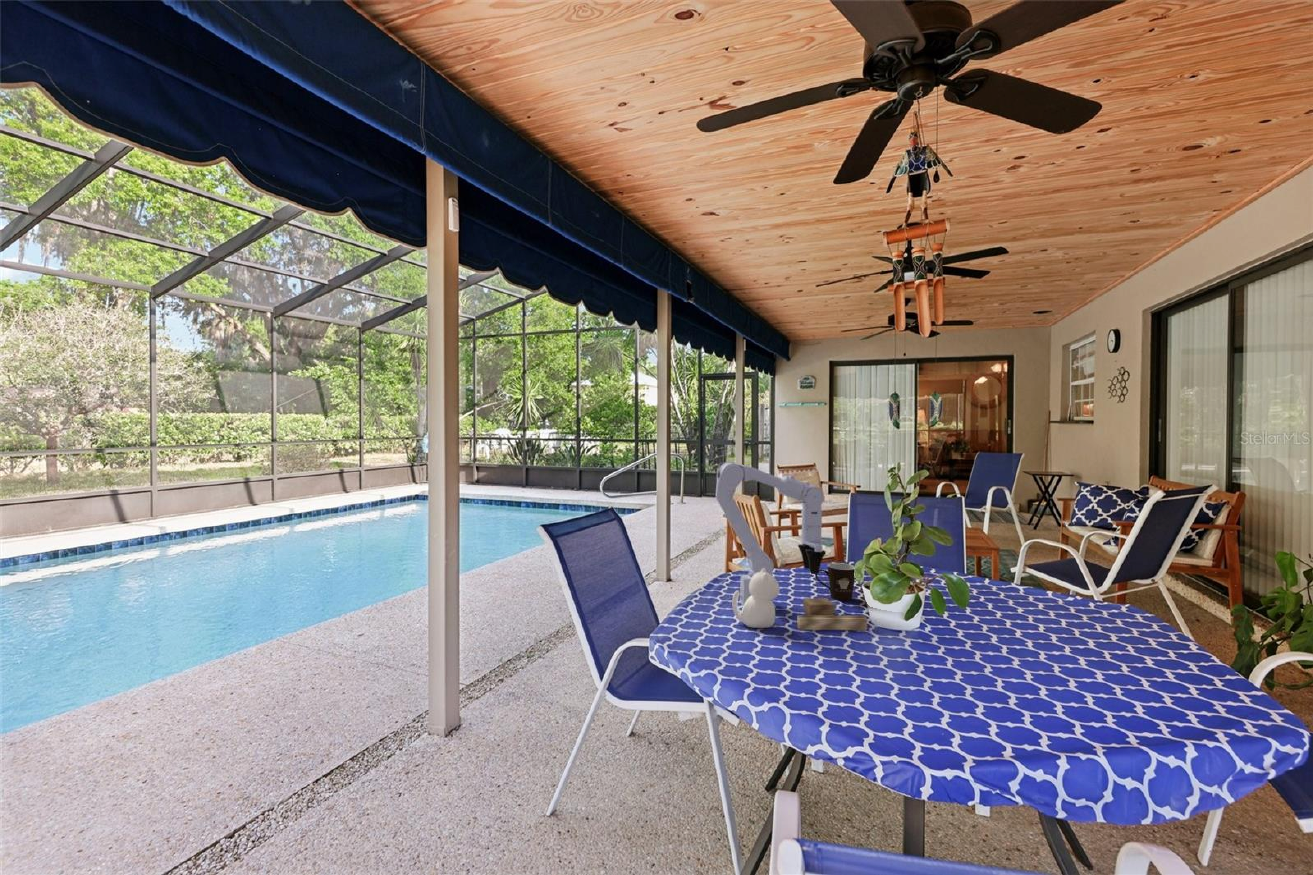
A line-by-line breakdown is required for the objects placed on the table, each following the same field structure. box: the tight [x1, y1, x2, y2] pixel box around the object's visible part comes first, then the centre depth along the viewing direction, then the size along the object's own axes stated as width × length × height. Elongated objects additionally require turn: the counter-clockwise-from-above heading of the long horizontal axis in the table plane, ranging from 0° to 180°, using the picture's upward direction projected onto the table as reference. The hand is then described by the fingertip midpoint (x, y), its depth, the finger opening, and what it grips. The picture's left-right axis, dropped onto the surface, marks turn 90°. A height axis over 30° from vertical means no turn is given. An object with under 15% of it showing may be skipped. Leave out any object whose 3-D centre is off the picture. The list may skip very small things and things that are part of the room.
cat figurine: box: [731, 568, 781, 629], centre depth 158 cm, size 9×12×15 cm
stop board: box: [796, 614, 868, 631], centre depth 156 cm, size 18×2×3 cm, turn 92°
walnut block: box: [802, 597, 836, 616], centre depth 168 cm, size 7×6×4 cm
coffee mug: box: [814, 562, 856, 602], centre depth 185 cm, size 12×9×10 cm
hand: (811, 570), depth 176 cm, fingers open, 6 cm apart
